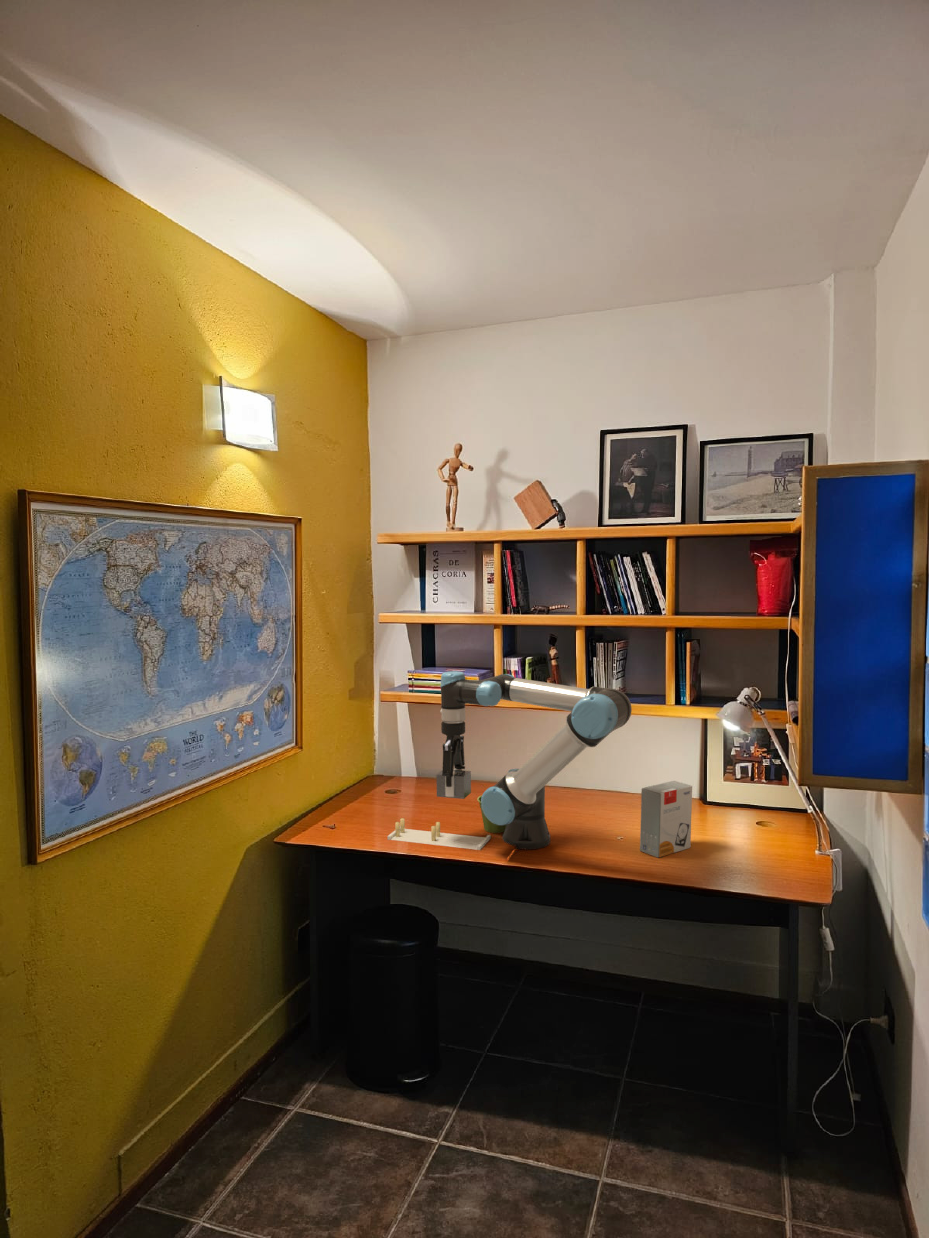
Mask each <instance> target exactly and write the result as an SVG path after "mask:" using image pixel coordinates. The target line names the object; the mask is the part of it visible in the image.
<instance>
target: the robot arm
mask: <svg viewBox="0 0 929 1238" xmlns="http://www.w3.org/2000/svg"><path fill="white" fill-rule="evenodd" d="M440 699H441V700H440V701H441V702H440V703H441V704H440V706H441V707H440V708H441V709H440V710H439V713H441V716H440V719H441V725H440V726H441V727H440V729H441V730H440V731H441V734H443V735H445V736H446V739H445V743H442V770H443V771H442V770H441V771H442V776H445V796H447V797H454V776H453V770H465V769H466V766H465V765H466V764H465V761H466V760H465V746H464V745H465V744H464V743H465V741H464V740H465V735H464V734H465V733H466V722H465V721H466V705H474V706H475V705H477V706H483V707H495V706H497V705H498V704H499V702H500V701H501V700H503V701H509V702H514V703H515V702H516V703H521V704H527V705H531V706H537V707H543V708H548V709H549V708H550V709H553V710H554V709H555V710H560V711H567V712H569V714H568V715H567V716H566V718H565V723H566V724H565V725H564V726H563V727H562V728H561V729H560V730H559V731H557V733H556V734H555V735H554V736H552V737H551V738H550V739H549V740H548V741H547V742H546V743H545V744H544V745H543V746H542V747H541V748H540V749H539V750H538V751H537V752H536V753H535V754H534V755H532V756H531V757H530V758H529V759H528V760H527V761H526V762H525V763H524V764H523V765H522V766H521V767H519V768H510V769H509V770H508V772H507V773H506V774H505V775H503V777H502V778H501V779H500V780H498V782H496V783H495V784H494V785H493V786H489V787H488V788H486V790H485V791H484V792H483V793H482V794H481V796H482V798H481V804H482V805H481V807H482V810H483V813H484V815H485V816H486V817H487V819H488V820H489V821H491V822H492V823H494V824H497V825H505V824H506V827H505V830H504V832H502V840H503V842H504V843H506V844H507V845H510V846H511V845H512V846H514V849H519V850H537V849H542V848H545V847H547V846H549V845H550V844H551V833H550V831H549V828H548V825H547V821H546V819H545V817H546V816H545V814H546V813H545V812H546V811H545V810H546V809H545V807H546V803H545V802H546V800H545V799H546V797H545V796H546V793H545V792H546V789H545V788H546V785H547V784H548V783H549V782H550V781H552V780H553V778H555V777H556V776H557V775H558V774H559V773H561V772H562V771H563V770H564V769H565V768H566V767H567V766H568V765H569V764H570V763H571V762H572V761H573V760H574V759H576V757H577V756H579V755H580V754H581V753H582V752H583V751H584V750H585V749H587V748H595V747H597V746H598V745H599V744H600V743H601V742H602V741H603V740H605V739H606V738H607V737H608V736H609V735H610V734H611V733H613V731H615V730H618V729H620V728H622V727H623V726H625V725H626V724H627V723H628V721H630V718H631V715H632V713H633V712H632V710H633V709H632V703H631V701H630V699H629V697H628V695H626V694H625V693H624V692H623V691H621V690H619V689H616V688H608V687H599V686H592V687H590V688H585V687H584V688H583V687H578V686H577V687H576V686H572V685H571V686H570V685H565V684H557V683H551V682H545V681H540V680H532V679H526V678H519V677H515V676H513V675H511V674H509V673H505V674H504V673H501V674H498V675H495V676H492V677H488V678H485V679H477V680H476V679H466V675H465V673H464V672H462V671H458V670H456V671H453V670H452V671H451V670H450V671H445V672H443V673H442V674H441V676H440ZM447 797H446V798H447Z"/></svg>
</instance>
